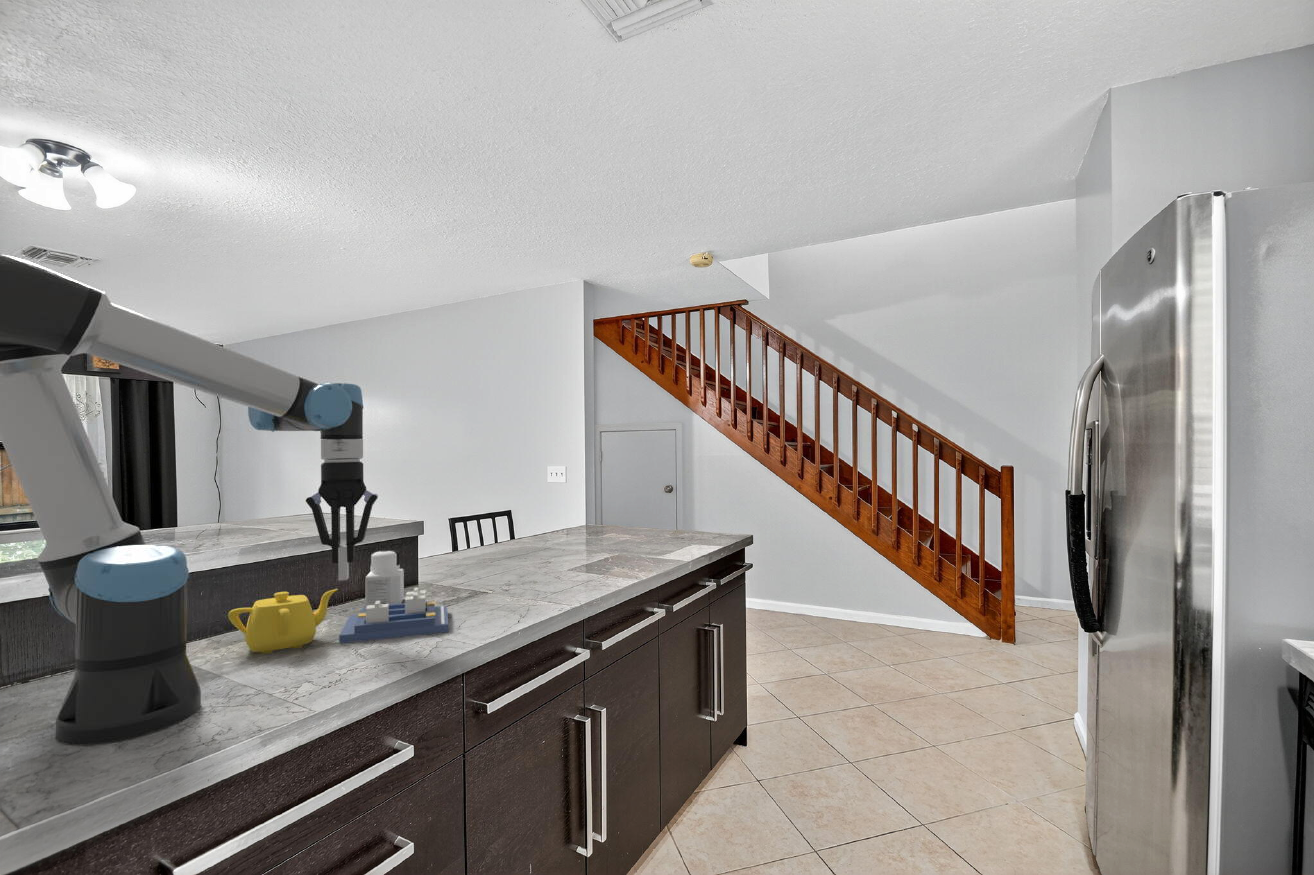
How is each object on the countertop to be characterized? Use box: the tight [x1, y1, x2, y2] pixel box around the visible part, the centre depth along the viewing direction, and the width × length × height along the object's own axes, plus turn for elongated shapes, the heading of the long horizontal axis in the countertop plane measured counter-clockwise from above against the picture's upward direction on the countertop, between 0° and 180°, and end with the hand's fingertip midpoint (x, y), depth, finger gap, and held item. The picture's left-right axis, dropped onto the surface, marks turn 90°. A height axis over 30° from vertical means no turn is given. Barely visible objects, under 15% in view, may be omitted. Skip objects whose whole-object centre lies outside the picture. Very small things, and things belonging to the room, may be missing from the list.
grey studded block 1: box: [366, 601, 389, 623], centre depth 121 cm, size 4×3×5 cm
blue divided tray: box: [338, 600, 449, 644], centre depth 127 cm, size 20×16×3 cm
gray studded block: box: [404, 592, 425, 614], centre depth 128 cm, size 4×3×5 cm
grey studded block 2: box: [405, 587, 427, 606], centre depth 133 cm, size 4×3×5 cm
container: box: [364, 549, 405, 607], centre depth 146 cm, size 8×8×13 cm
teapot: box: [227, 588, 339, 655], centre depth 115 cm, size 14×13×10 cm
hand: (343, 578), depth 119 cm, fingers closed
